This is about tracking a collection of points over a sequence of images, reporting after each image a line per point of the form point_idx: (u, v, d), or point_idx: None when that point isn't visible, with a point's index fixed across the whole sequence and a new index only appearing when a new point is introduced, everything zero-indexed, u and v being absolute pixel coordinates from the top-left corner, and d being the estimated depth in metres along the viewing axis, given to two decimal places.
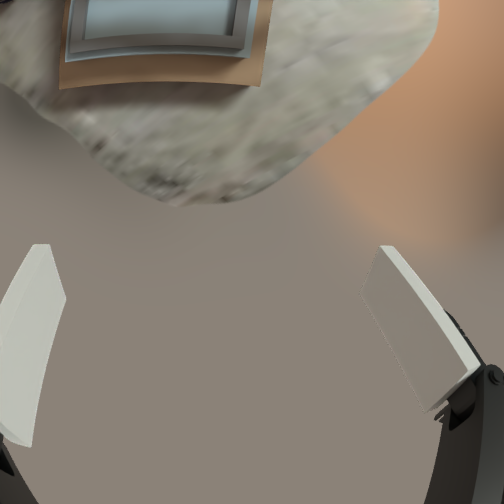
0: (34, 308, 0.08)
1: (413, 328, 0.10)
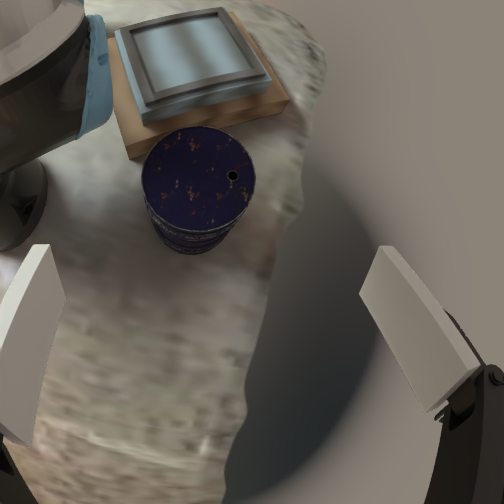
0: (34, 308, 0.08)
1: (413, 328, 0.10)
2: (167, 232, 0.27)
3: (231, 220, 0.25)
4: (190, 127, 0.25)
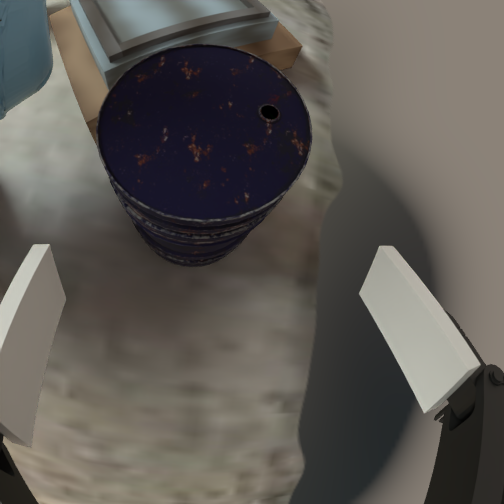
0: (34, 308, 0.08)
1: (413, 328, 0.10)
2: (157, 234, 0.15)
3: (282, 191, 0.12)
4: (179, 49, 0.13)
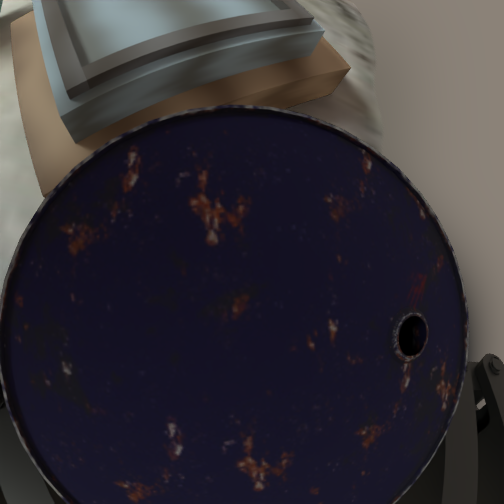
0: None
1: None
2: None
3: (404, 485, 0.05)
4: (181, 118, 0.05)
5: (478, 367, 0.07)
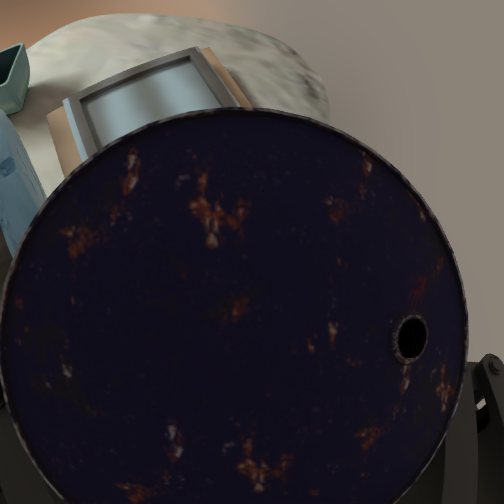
0: None
1: None
2: None
3: (404, 486, 0.05)
4: (181, 121, 0.05)
5: (478, 367, 0.07)
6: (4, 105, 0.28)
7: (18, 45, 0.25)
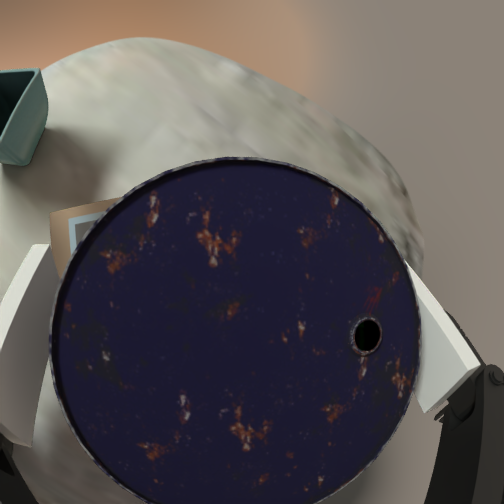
0: (34, 308, 0.08)
1: None
2: None
3: (367, 460, 0.07)
4: (189, 167, 0.07)
5: None
6: (1, 160, 0.21)
7: (32, 71, 0.19)
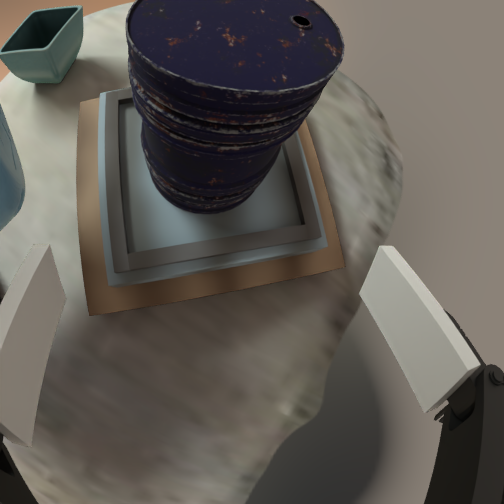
0: (34, 308, 0.08)
1: (413, 328, 0.10)
2: (177, 138, 0.13)
3: (320, 79, 0.10)
4: None
5: None
6: (40, 72, 0.25)
7: (76, 7, 0.22)
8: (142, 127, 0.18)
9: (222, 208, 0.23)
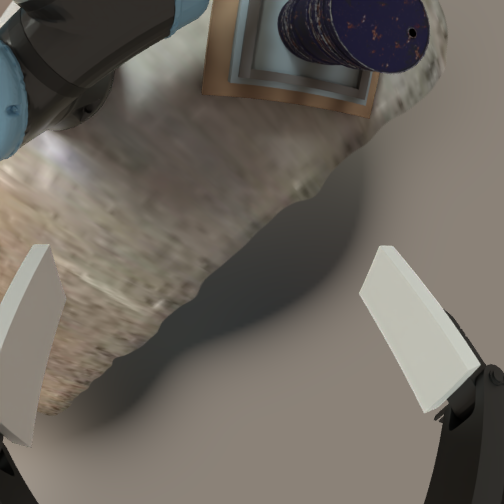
0: (34, 308, 0.08)
1: (413, 328, 0.10)
2: (325, 50, 0.21)
3: (401, 70, 0.19)
4: None
5: None
6: None
7: None
8: (292, 9, 0.22)
9: None
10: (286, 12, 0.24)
